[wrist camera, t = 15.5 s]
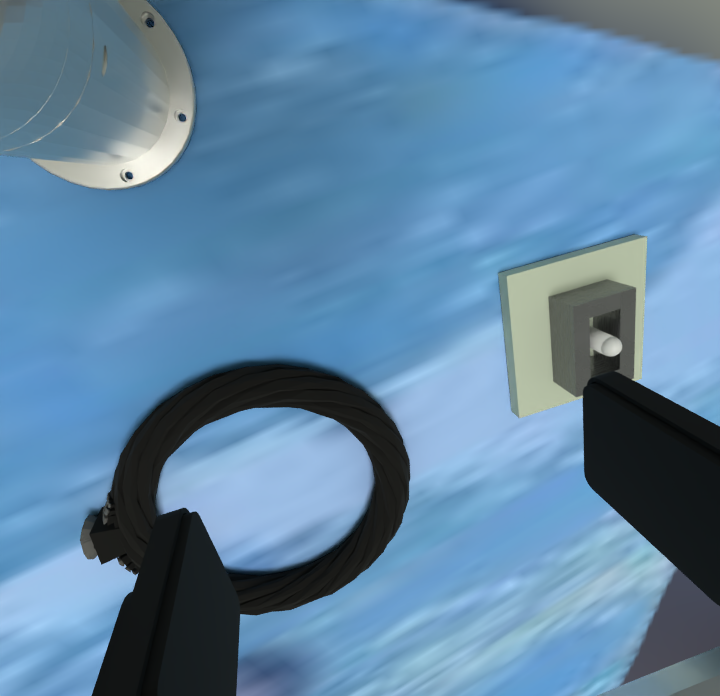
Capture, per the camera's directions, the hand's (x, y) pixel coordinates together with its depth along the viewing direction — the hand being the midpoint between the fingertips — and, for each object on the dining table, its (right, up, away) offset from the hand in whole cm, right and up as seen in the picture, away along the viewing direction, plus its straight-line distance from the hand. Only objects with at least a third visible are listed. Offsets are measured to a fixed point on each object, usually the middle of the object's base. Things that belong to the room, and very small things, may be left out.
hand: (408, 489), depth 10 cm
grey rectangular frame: (+20, +5, +32) cm, 38 cm away
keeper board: (+20, +5, +33) cm, 39 cm away
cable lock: (-11, -11, +33) cm, 37 cm away
